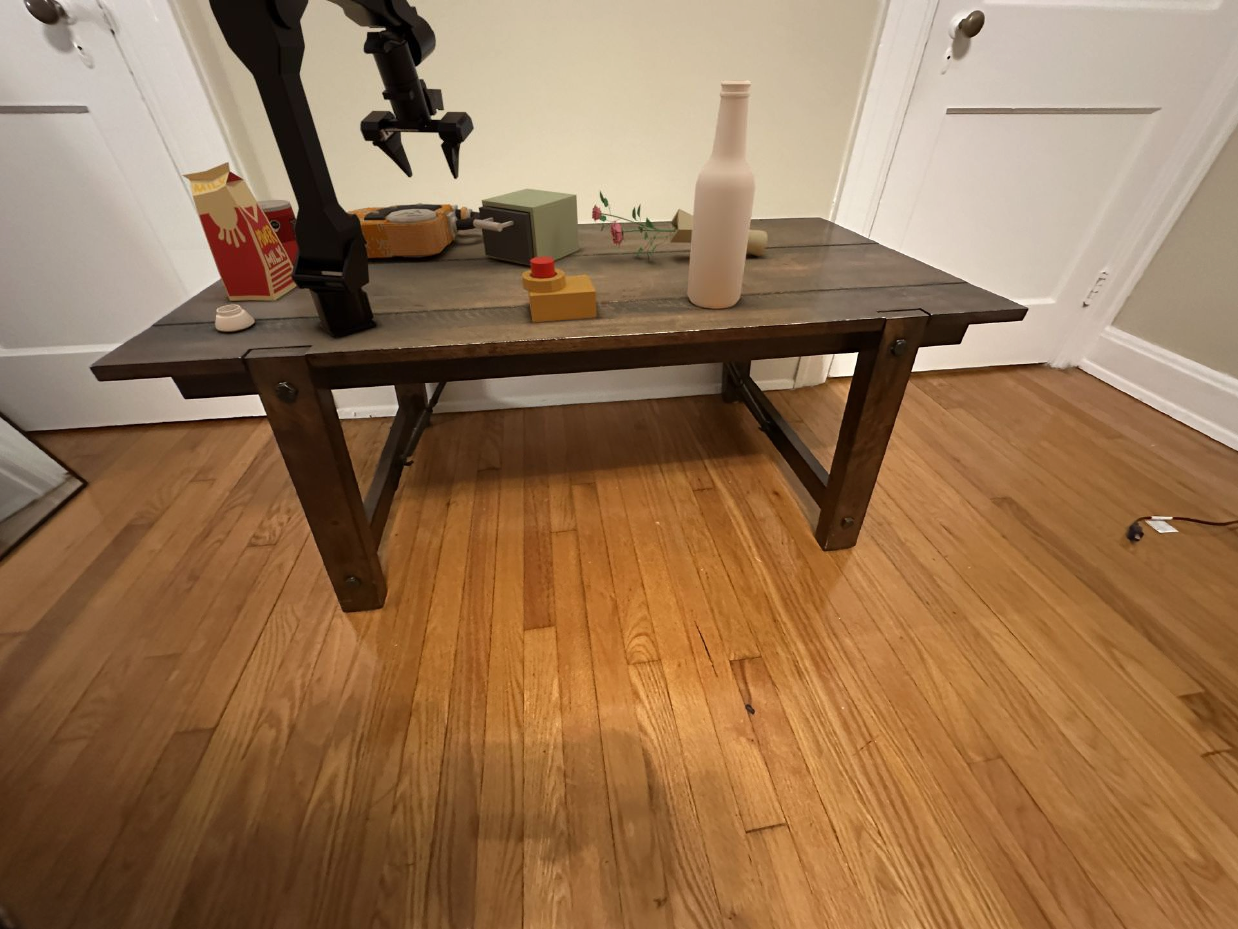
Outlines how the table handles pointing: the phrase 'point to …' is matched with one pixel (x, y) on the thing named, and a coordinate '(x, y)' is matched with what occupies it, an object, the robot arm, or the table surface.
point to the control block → (560, 297)
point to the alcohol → (723, 207)
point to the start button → (542, 267)
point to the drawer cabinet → (545, 220)
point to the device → (412, 228)
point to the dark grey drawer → (506, 233)
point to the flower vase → (674, 230)
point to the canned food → (282, 224)
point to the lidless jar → (232, 318)
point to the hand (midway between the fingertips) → (433, 177)
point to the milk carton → (240, 237)
